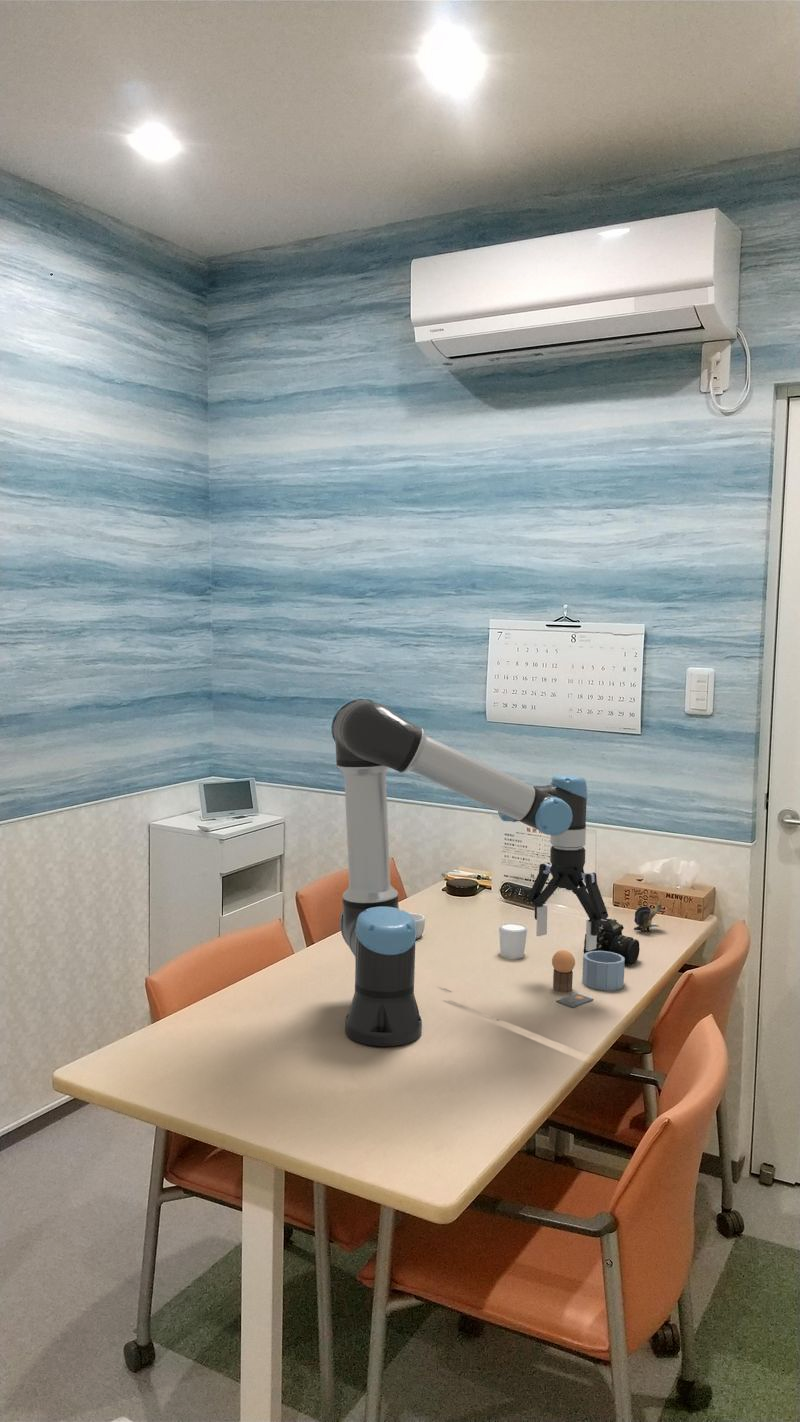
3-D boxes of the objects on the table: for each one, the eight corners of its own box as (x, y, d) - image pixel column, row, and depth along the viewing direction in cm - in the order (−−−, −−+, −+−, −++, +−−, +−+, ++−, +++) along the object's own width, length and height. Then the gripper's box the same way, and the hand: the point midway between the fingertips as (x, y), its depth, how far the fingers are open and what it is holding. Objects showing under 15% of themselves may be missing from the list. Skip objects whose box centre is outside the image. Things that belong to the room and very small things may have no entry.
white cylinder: (527, 960, 236) (528, 931, 235) (499, 959, 236) (500, 930, 236) (524, 951, 243) (525, 923, 242) (496, 950, 243) (497, 922, 242)
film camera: (635, 976, 226) (636, 934, 226) (580, 969, 230) (582, 928, 230) (641, 954, 243) (643, 914, 242) (591, 948, 247) (592, 909, 246)
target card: (572, 1007, 205) (573, 1005, 205) (556, 1001, 209) (556, 1000, 209) (593, 1000, 210) (593, 998, 210) (576, 994, 213) (576, 992, 213)
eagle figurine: (653, 942, 253) (655, 908, 252) (627, 937, 257) (628, 903, 256) (663, 936, 259) (665, 902, 258) (637, 931, 263) (639, 897, 263)
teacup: (405, 931, 257) (405, 911, 257) (430, 936, 253) (430, 916, 253) (383, 940, 249) (383, 919, 249) (408, 946, 245) (409, 924, 244)
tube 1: (563, 993, 214) (564, 975, 214) (549, 988, 217) (550, 970, 217) (575, 989, 217) (576, 971, 216) (561, 984, 220) (561, 966, 219)
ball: (564, 978, 213) (565, 955, 213) (546, 972, 217) (547, 950, 216) (579, 973, 216) (580, 951, 216) (561, 967, 220) (562, 945, 220)
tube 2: (607, 993, 215) (608, 966, 214) (574, 982, 221) (575, 955, 221) (631, 984, 221) (632, 958, 220) (598, 974, 227) (599, 948, 227)
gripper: (626, 853, 208) (623, 952, 209) (534, 835, 226) (532, 926, 228) (604, 858, 203) (602, 959, 204) (513, 839, 221) (511, 932, 223)
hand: (565, 942), depth 216 cm, fingers open, 13 cm apart
